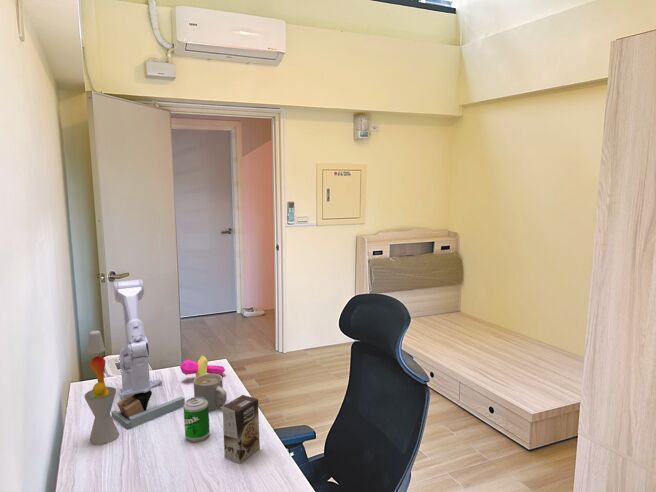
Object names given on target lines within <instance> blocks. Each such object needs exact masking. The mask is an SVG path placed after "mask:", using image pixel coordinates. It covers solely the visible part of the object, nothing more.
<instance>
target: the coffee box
mask: <svg viewBox="0 0 656 492" xmlns="http://www.w3.org/2000/svg"><path fill="white" fill-rule="evenodd" d="M259 414H260V413H259V399H258V398H256V397H251V396H247V395H245V394H242V395H240V396H239V397H237V398H235V399H233V400H231V401H230V402H228V403H226V404H223V406H222V422H223V426H222V427H223V447H224V448H223V450H224V458H226V459H228V460H231V461H233V462H234V463H235V462H236V463H237V464H241V463H243V462H244V461H246V460H247V459H248V458H249V457H250V456H252V455H254V454H255V453H256V452H257V451H258V450H260V448H261V447H260V445H261V444H260V443H261V442H260V419H259V418H260V416H259Z"/></svg>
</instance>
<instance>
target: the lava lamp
mask: <svg viewBox="0 0 656 492" xmlns="http://www.w3.org/2000/svg"><path fill="white" fill-rule="evenodd" d="M105 351H106V348H105V344H104V341H103V336H102V333H101V331H100V330H92V331H90V332H89V333H88V343H87V353H88V354H89V355H91V354H92V355H95V354H101V353H103V352H105ZM89 366H90V369H92V371H93V372H94V373H95V375H96V380H97V382H96V383H95V384H94V385H93V388H92V389H91V390H89V391H87V392H86V393H85V394H84V396H83V397H84V399H85V401H86V404H87V406H89V409H90V411H91V413H92V414H93V416H94V420H93V424H92V428H91V431H90V436H89V443H90V444H91V445H93V444H94V445H95V446H102V445H108V444H110V443H113V442H114V441H115V440H117V439H118V438H119V436H120V431H119V430H118V428H117V426H116V424H115V421H114V420H113V418H112V414H111V412H112V408H113V404H114V402H115V401H114V400H115V398H116V397H115V396H116V393H117V389H116V388H115V387H113V386H106V384H105V369H106V360H105V358H104V357H103V356H101V355H98V356H94V357H93V358H92V359H91V360H90V362H89Z"/></svg>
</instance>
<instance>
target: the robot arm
mask: <svg viewBox="0 0 656 492" xmlns="http://www.w3.org/2000/svg"><path fill="white" fill-rule="evenodd" d="M113 290H114V291H113V293H114V300H115V302H116V303H120V304H121V305H122V309H123V317H124V319H123V320H124V331H125V341H126V344H125V345H124V346H122V347H121V349H120V350H119V368H120V370H121V384H122V386H121V388H120V391H121V392H119V399H120V401H121V400H124V399H125V398H127V397H130V396H133V397H135V398H136V399H138V400H139V401H140V402H141V405H142V407H143V409H144V411H146V410H148V409H147V408H148V404H149V402H150V400H151V399H150V398H151V397H152V395H153V392H152V389H155V388H157V387H163V380H162V379H161V378H159V379H156V380H151V377H150V366H149V356H150V344H149V341H148V338H147V336H146V331H145V325H144V321H142V320H141V319H140V311H139V301H140V300H142V299H143V297H144V296H143V295H144V294H145V288H144V282H143V280H142V279H141V278H138V279H131V280H124V281H122V280H121V281H114V282H113Z"/></svg>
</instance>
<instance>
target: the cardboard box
mask: <svg viewBox="0 0 656 492" xmlns="http://www.w3.org/2000/svg"><path fill="white" fill-rule="evenodd" d="M116 405H117V407H118V409H119V411H121V414H122V415H123V416H124V417H125V418H127V419H128V420H129V417H130V416H133V415H135V414H138V413H141V412H143V411H144V409H143V407H142V405H141V402H140V401H139V400H138V399H136V398H135V397H133V396H130V397H127V398H125V399H124V400H121V399H120V400H119V401H118V402H116Z"/></svg>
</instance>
